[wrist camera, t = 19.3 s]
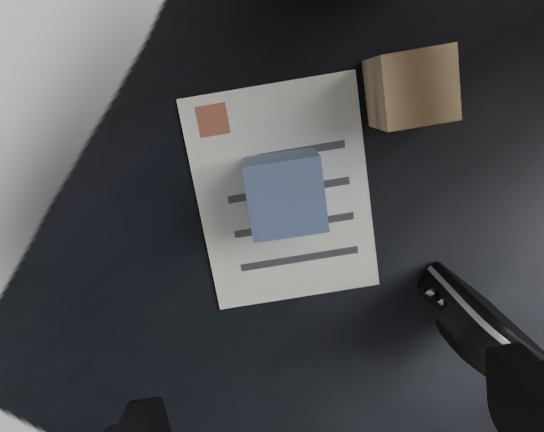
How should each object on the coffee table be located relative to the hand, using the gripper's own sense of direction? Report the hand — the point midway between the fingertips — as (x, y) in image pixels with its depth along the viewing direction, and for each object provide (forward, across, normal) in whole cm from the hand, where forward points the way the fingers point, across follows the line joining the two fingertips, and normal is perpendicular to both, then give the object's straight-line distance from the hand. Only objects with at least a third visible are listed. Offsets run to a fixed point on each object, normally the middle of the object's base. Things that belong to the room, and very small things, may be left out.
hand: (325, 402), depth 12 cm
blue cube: (+28, 0, 0) cm, 28 cm away
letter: (+28, 0, +1) cm, 28 cm away
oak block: (+28, -10, -6) cm, 30 cm away
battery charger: (+28, -13, +12) cm, 33 cm away
